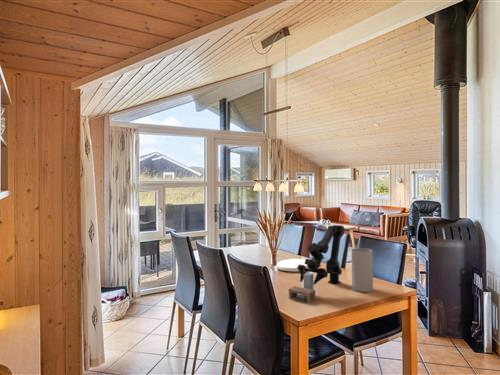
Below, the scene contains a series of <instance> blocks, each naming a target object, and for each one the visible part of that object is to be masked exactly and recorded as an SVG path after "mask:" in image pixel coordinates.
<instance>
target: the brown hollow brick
mask: <svg viewBox="0 0 500 375" xmlns="http://www.w3.org/2000/svg"><path fill="white" fill-rule="evenodd" d="M300 294H302V295H306V296H307V300H305V299H301V298H297V297H296V296H298V295H300ZM316 297H317V296H316V290H315V289H314V290H311V289H307V288H304V287H301V286H297V285H294V286H292V287H290V288H288V299H292V300H295V301H299V302H303V303H306V304H311V303H312V302H314V301H316Z"/></svg>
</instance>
